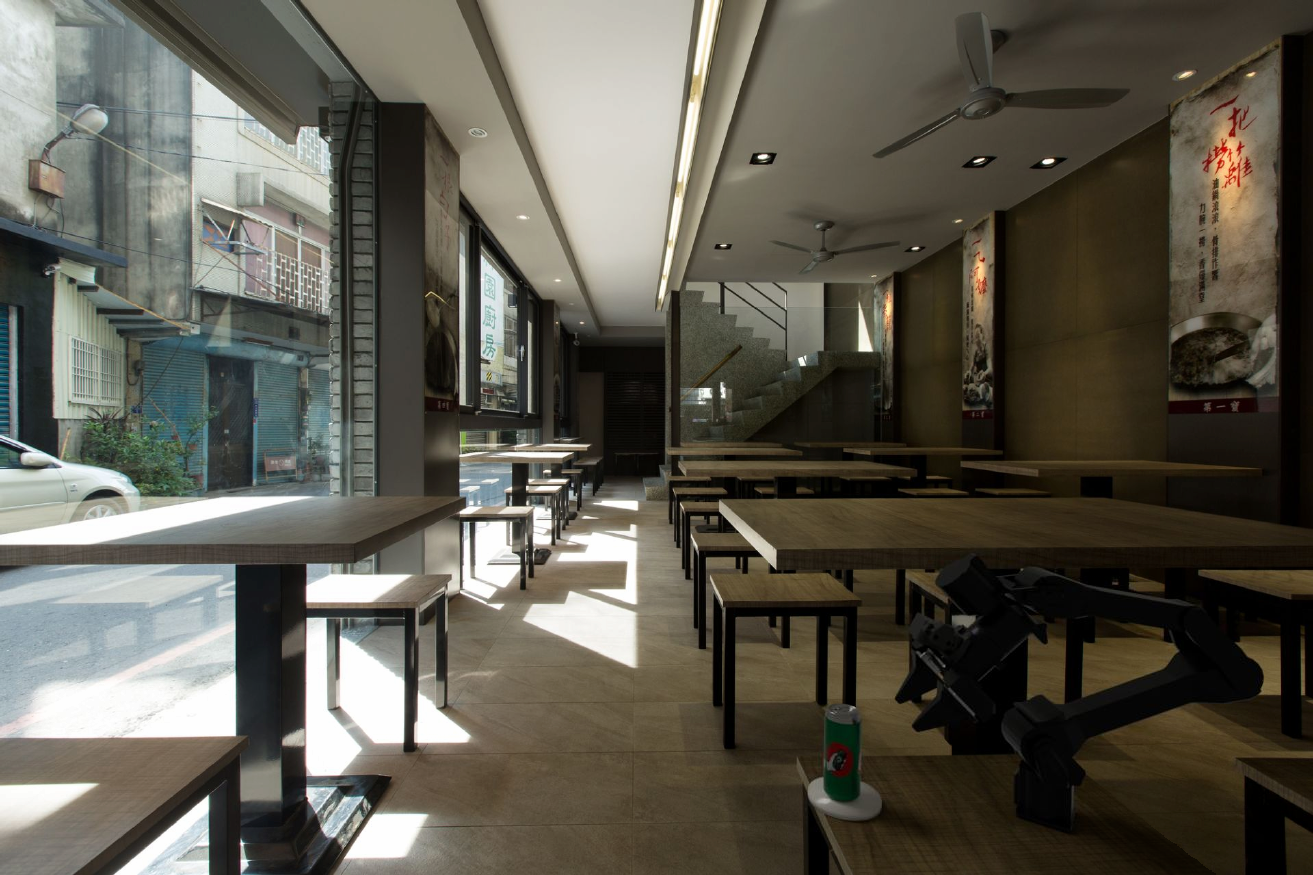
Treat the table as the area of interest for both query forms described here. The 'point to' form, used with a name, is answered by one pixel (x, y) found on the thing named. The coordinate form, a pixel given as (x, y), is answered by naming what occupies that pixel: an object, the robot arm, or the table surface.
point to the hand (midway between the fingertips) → (904, 714)
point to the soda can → (842, 752)
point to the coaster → (846, 803)
